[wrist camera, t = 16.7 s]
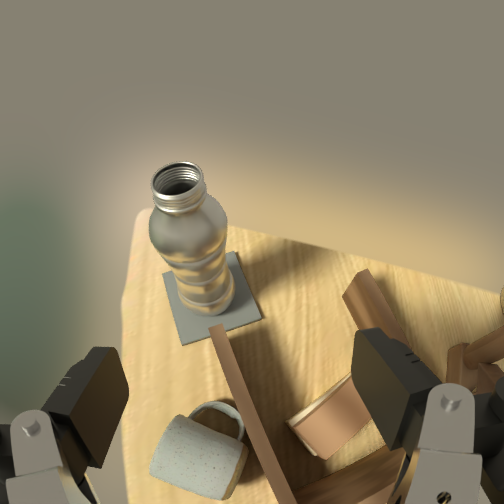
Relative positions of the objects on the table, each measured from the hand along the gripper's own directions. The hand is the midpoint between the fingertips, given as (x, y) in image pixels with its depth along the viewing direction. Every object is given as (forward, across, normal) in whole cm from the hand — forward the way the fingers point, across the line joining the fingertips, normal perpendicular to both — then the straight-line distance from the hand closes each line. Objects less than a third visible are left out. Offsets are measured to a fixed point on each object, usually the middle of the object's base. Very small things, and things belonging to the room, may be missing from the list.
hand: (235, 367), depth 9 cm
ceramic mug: (+14, +5, +21) cm, 26 cm away
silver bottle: (+27, +4, +8) cm, 28 cm away
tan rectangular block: (+16, -10, +19) cm, 27 cm away
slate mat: (+27, +4, +8) cm, 29 cm away
